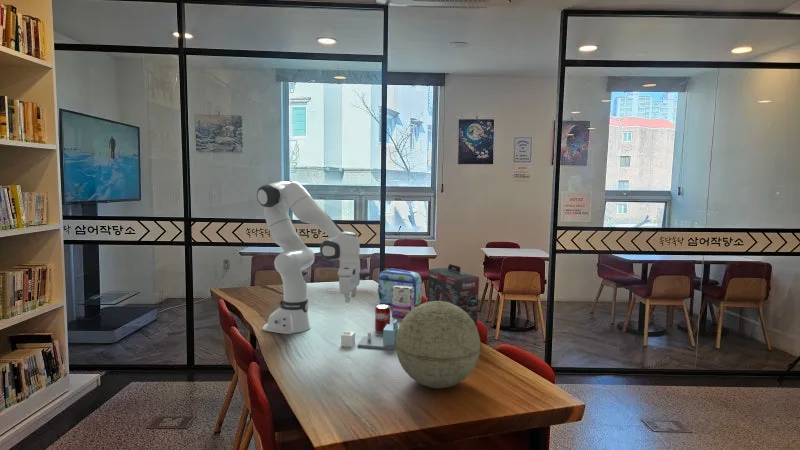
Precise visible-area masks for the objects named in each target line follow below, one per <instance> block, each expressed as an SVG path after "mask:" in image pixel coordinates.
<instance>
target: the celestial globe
mask: <svg viewBox="0 0 800 450" xmlns="http://www.w3.org/2000/svg"><path fill="white" fill-rule="evenodd" d="M395 352H396V355H397V359H398V361H399V363H400V365H401V367H402V369H403V371H404V372H405V373H406V374H407V375H408V376H409V377H410V378H411V379H412V380H414V381H415V382H416V383H418V384H420V385H422V386H425V387H428V388H431V389H445V388H450V387H453V386H456V385H457V384H459V383H461V382H463V381H464V380H465V379H466V378H467V377H468V376H470V375H471V373H472V372H473V370H474V369H475V367H476V365H477V364H478V361H479V357H480V353H481V338H480V334H479V330H478V326H477V327H476V325H475V323H474V321H473V320H472V319H471V317H470V316H469V315H468V314H467V313H466V312H465V311H464V310H462V309H461V308H460V307H458V306H456V305H454V304H452V303H448V302H443V301H431V302H428V301H426V302H423V303H420V304H419V305H416V306H414V309H412V310H411V311H410V312H409V313H408V314H407V315H406V316H405V317H404V318H402V320H401V322H400V323H399V325H398V332H397V336H396V347H395Z"/></svg>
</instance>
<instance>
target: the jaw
mask: <svg viewBox="0 0 800 450" xmlns="http://www.w3.org/2000/svg"><path fill="white" fill-rule="evenodd" d="M355 344H356V332H355V331H343V333H342V334H340V346H341V347H346V348H347V347H348V348H349V347H351V348H352V347H353V346H354V345H355Z"/></svg>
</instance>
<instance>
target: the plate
mask: <svg viewBox="0 0 800 450" xmlns="http://www.w3.org/2000/svg"><path fill="white" fill-rule="evenodd" d="M357 348H363V349H372V350H373V349H374V350H375V349H376V350H386V351H387V350H388V351H395V350H396V340H395V345H394V346H393V345H383V337H378V336H372V331H368V332H367V336H365V335H364V336H363V337H362V338H361V339H360V341H359V342H358V343H357Z"/></svg>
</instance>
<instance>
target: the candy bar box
mask: <svg viewBox="0 0 800 450" xmlns="http://www.w3.org/2000/svg"><path fill="white" fill-rule="evenodd" d="M414 308H415V306H414V287H409V286H398V285H395V286H393V287H392V305H391V317H393V318H399V319H400V318H401V319H404V317H405V316H406V315H407V314H408V313H409V312H410V311H411V310H412V309H414Z"/></svg>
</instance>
